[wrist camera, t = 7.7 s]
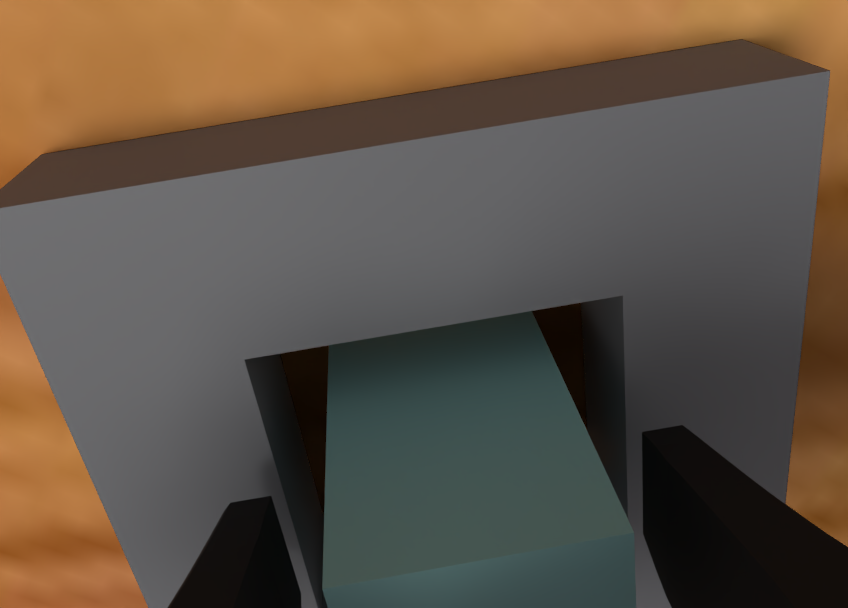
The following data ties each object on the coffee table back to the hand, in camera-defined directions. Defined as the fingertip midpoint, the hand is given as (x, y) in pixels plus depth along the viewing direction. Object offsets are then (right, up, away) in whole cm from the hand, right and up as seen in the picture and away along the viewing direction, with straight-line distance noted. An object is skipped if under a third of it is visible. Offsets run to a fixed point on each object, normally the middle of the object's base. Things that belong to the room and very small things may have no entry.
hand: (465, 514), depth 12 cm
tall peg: (0, +2, +3) cm, 3 cm away
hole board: (0, +2, +3) cm, 3 cm away
